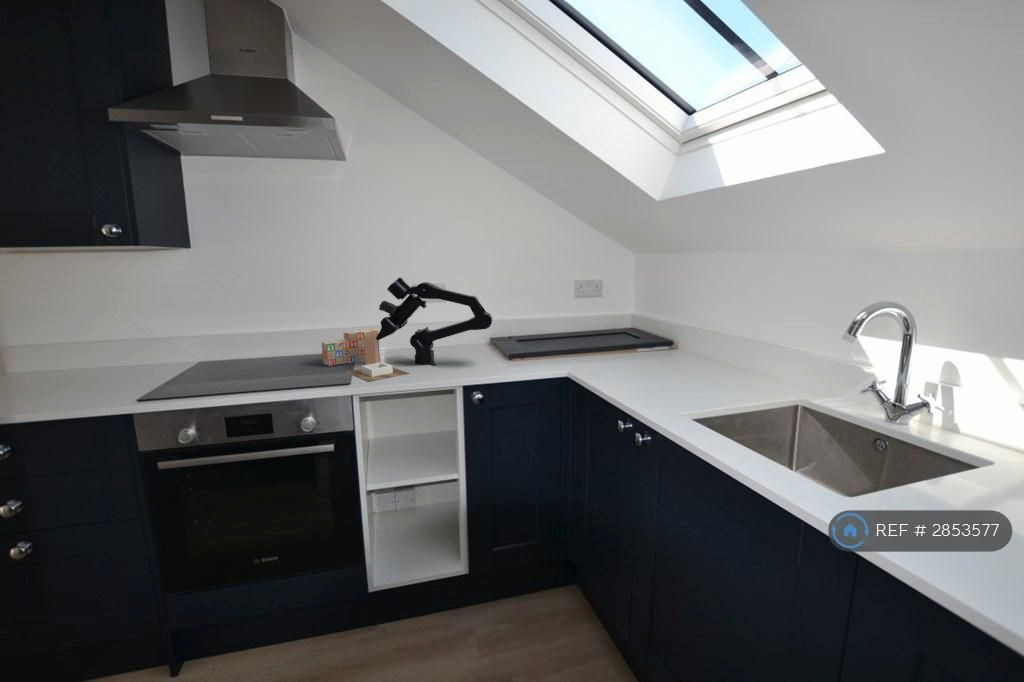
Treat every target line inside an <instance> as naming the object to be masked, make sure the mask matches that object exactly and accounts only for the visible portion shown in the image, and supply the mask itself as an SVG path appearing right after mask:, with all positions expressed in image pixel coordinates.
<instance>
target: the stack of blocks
mask: <svg viewBox="0 0 1024 682" xmlns="http://www.w3.org/2000/svg"><path fill="white" fill-rule="evenodd" d="M367 334H377V335H378V334H379V330H377V329H374V328H371V329H370V328H368V329H365V328H364V329H358V330H351V331H350V330H349V331H348V330H347V331H343V339H336V340H335V339H334V340H328V341H326V340H325V341H321V353H322V355H321V356H322V363H325V364H327V365H332V364H339V363H345V362H352V361H353V362H357V363H361V362H362V361H363V362H366V360H365V346H364V336H365V335H367ZM378 352H379V360H380V357H381V356H380V340H378Z"/></svg>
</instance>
